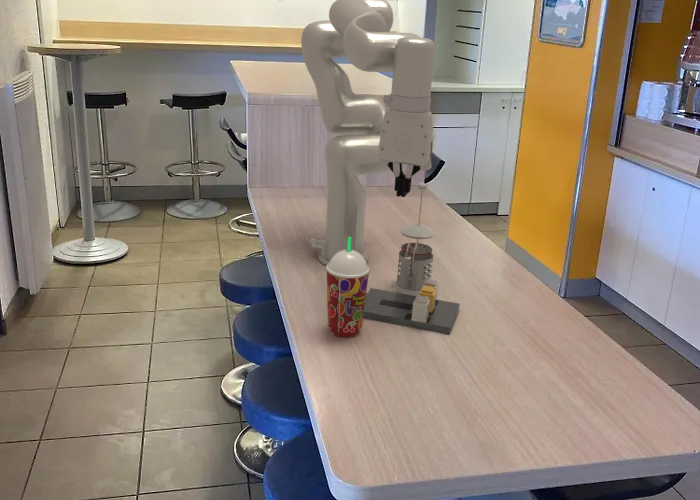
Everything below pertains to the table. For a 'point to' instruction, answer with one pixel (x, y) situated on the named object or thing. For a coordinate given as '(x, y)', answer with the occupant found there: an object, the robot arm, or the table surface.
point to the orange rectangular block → (429, 295)
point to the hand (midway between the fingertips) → (402, 194)
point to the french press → (414, 257)
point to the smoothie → (346, 291)
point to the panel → (411, 309)
